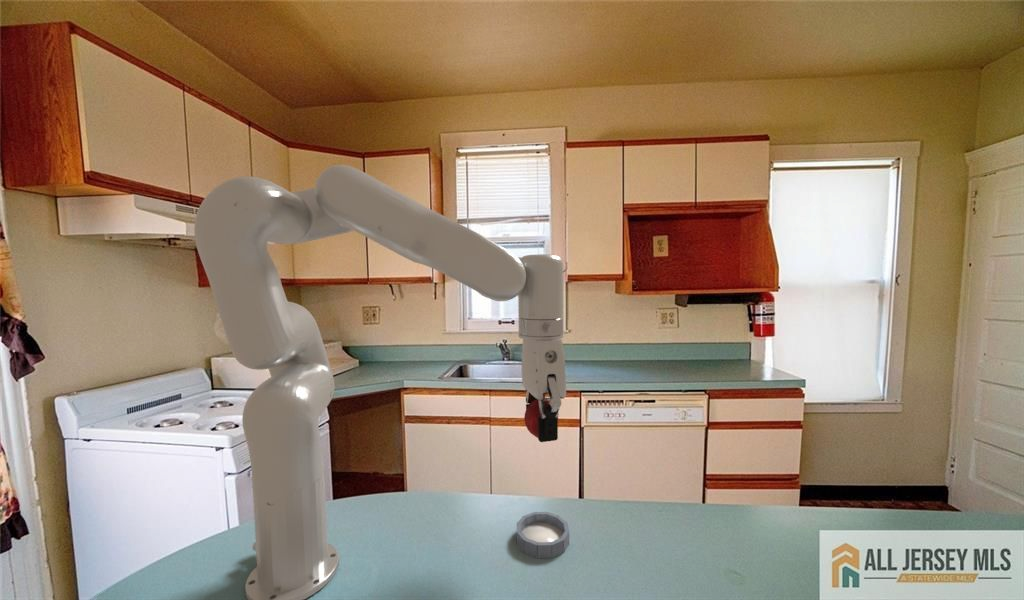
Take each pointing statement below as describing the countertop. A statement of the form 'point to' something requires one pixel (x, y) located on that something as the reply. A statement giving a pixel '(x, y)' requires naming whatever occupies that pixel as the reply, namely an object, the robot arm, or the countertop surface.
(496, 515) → the countertop surface
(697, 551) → the countertop surface
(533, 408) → the onion
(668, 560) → the countertop surface
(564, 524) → the gray dish
